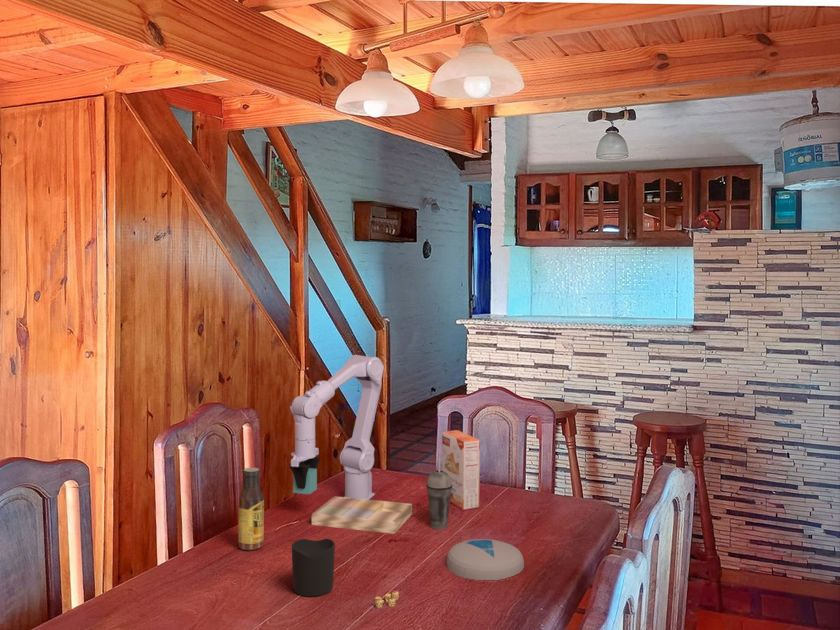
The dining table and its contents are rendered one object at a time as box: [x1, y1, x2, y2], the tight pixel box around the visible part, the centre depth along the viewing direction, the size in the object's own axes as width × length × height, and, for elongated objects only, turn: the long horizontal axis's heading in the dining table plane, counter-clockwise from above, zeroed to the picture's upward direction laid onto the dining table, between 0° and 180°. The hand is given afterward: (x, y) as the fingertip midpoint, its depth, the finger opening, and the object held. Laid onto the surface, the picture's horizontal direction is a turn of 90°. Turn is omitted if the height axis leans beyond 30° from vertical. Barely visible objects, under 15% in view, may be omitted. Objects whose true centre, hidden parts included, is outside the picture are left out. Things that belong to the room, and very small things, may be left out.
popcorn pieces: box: [374, 590, 400, 609], centre depth 156 cm, size 5×5×2 cm
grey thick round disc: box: [446, 538, 525, 581], centre depth 176 cm, size 18×18×5 cm
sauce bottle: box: [237, 467, 265, 551], centre depth 186 cm, size 7×6×20 cm
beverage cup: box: [425, 455, 453, 531], centre depth 201 cm, size 7×7×20 cm
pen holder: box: [291, 538, 336, 598], centre depth 162 cm, size 9×9×10 cm
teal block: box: [292, 468, 318, 495], centre depth 210 cm, size 5×5×6 cm
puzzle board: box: [311, 495, 413, 535], centre depth 207 cm, size 24×16×3 cm
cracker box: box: [441, 429, 481, 511], centre depth 222 cm, size 14×6×21 cm, turn 25°
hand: (305, 485), depth 210 cm, fingers closed on teal block, 5 cm apart
